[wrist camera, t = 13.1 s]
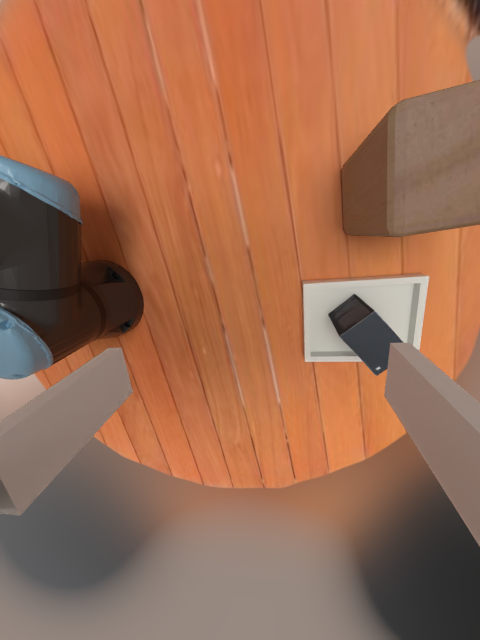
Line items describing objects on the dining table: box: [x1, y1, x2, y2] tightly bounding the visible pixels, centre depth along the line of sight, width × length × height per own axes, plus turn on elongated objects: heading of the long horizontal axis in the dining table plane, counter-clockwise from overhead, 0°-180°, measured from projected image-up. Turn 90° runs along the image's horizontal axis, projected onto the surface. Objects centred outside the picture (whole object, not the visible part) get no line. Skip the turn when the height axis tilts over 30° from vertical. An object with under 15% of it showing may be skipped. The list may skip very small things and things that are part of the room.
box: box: [328, 294, 404, 375], centre depth 38 cm, size 8×6×11 cm
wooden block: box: [341, 80, 480, 237], centre depth 28 cm, size 10×10×20 cm
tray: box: [302, 273, 429, 362], centre depth 42 cm, size 18×14×3 cm
